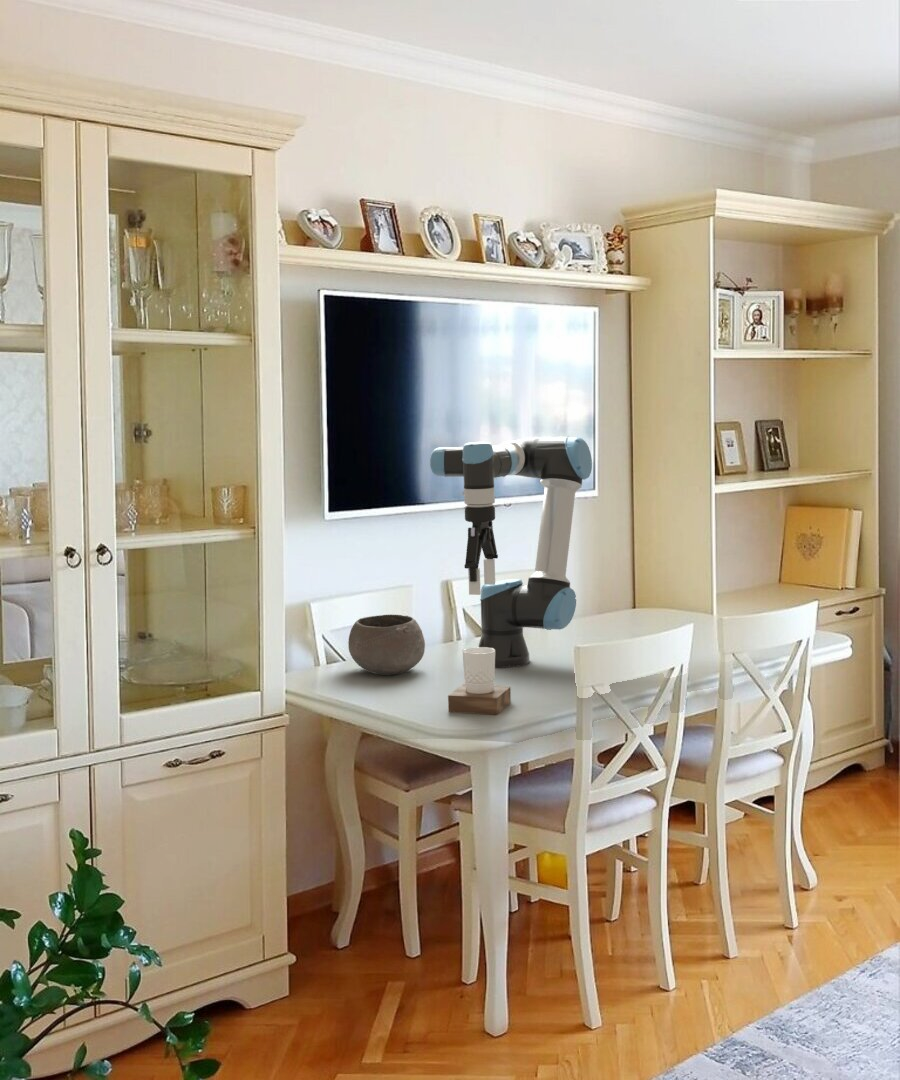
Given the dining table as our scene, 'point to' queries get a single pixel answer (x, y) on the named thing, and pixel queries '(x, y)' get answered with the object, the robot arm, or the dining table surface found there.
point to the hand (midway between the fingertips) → (482, 589)
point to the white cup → (479, 669)
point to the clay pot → (386, 643)
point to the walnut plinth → (479, 701)
